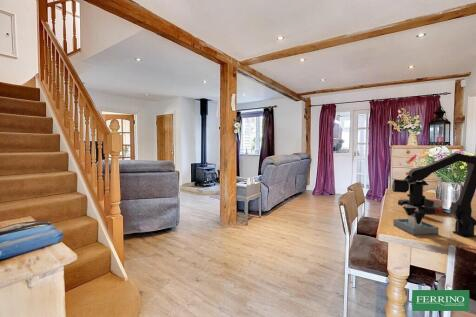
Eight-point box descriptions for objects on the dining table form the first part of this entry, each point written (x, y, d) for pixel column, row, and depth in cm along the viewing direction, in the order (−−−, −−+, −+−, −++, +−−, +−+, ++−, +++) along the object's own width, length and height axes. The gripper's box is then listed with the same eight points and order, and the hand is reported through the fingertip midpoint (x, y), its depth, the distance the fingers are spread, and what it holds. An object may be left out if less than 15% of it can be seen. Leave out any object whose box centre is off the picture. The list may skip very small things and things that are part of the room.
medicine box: (439, 210, 157) (439, 198, 157) (442, 214, 150) (442, 201, 150) (411, 208, 165) (411, 196, 164) (412, 211, 158) (413, 199, 157)
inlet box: (438, 234, 119) (438, 227, 118) (412, 235, 118) (413, 228, 118) (416, 224, 133) (416, 218, 132) (393, 225, 132) (393, 219, 132)
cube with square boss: (421, 226, 123) (422, 216, 123) (414, 226, 123) (414, 216, 123) (415, 223, 127) (415, 213, 127) (408, 224, 127) (408, 214, 127)
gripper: (447, 196, 115) (446, 228, 116) (416, 189, 134) (416, 216, 135) (425, 197, 115) (423, 229, 116) (397, 189, 133) (396, 217, 134)
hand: (415, 222), depth 125 cm, fingers closed on cube with square boss, 4 cm apart
